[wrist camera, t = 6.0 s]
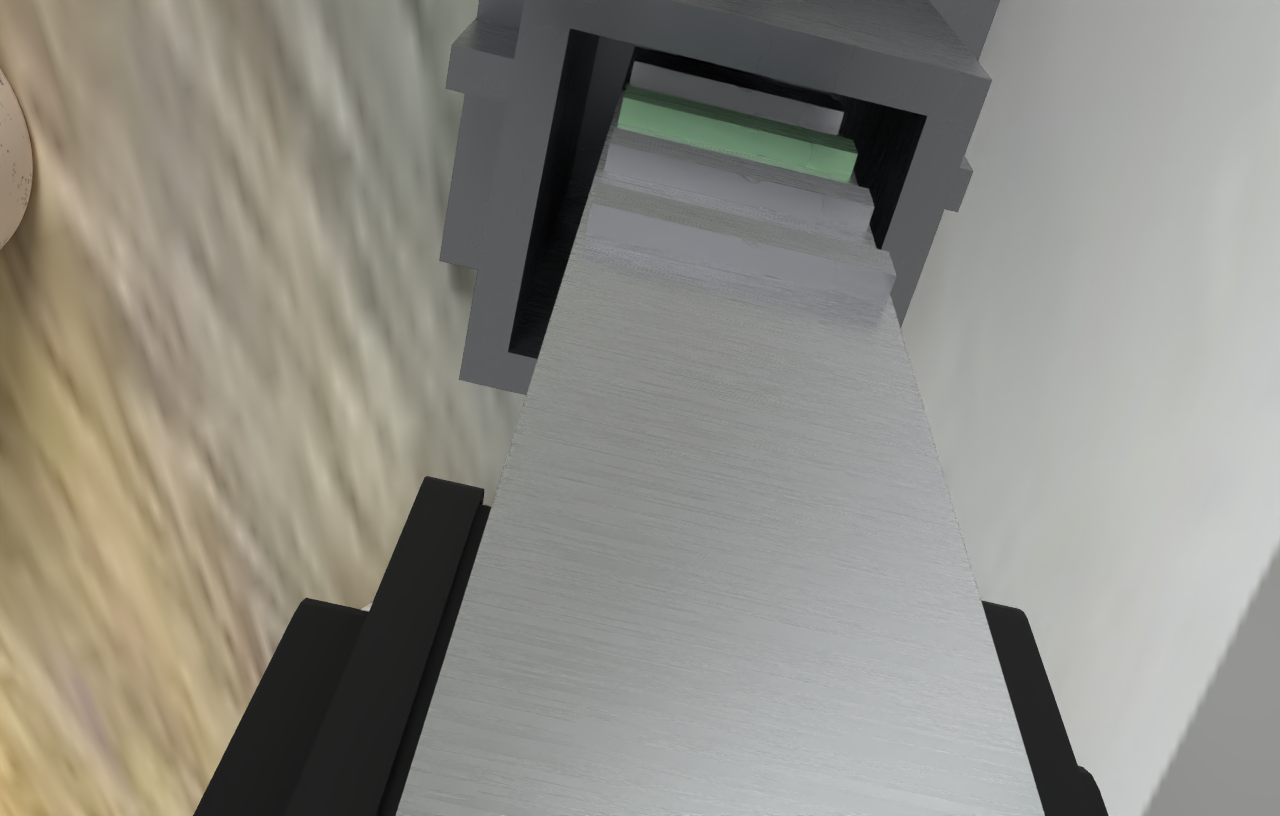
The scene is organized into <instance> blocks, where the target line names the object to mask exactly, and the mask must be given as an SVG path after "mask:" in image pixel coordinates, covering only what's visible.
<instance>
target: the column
mask: <svg viewBox="0 0 1280 816" xmlns="http://www.w3.org/2000/svg"><path fill="white" fill-rule="evenodd" d="M843 115H844V110H843V106H842V103H841V101H840V100H836V99H832V97H831V94H827V93H823V92H819V91H815V90H811V89H807V88H803V87H799V86H795V85H791V84H787V83H783V82H779V81H774V80H770V79H766V78H762V77H758V76H754V75H750V74H746V73H742V72H738V71H734V70H730V69H726V68H721V67H717V66H713V65H709V64H705V63H701V62H697V61H693V60H689V59H685V58H681V57H677V56H673V55H668V54H664V53H660V52H656V51H652V50H648V49H644V48H640V47H636V46H635V48H634V51H633V54H632V58H631V61H630V64H629V67H628V70H627V74H626V77H625V80H624V83H623V87H622V90H621V93H620V96H619V99H618V103H617V106H616V109H615V112H614V115H613V119H612V122H611V125H610V128H609V132H608V135H607V138H606V141H605V144H604V148H603V151H602V154H601V157H600V160H599V164H598V167H597V170H596V173H595V177H594V180H593V183H592V186H591V189H590V193H589V196H588V199H587V202H586V205H585V209H584V212H583V215H582V218H581V222H580V225H579V228H578V231H577V234H576V238H575V241H574V244H573V247H572V250H571V254H570V257H569V260H568V263H567V267H566V270H565V273H564V276H563V279H562V283H561V286H560V289H559V292H558V295H557V299H556V302H555V305H554V308H553V311H552V315H551V318H550V321H549V324H548V328H547V331H546V334H545V337H544V340H543V344H542V347H541V350H540V353H539V356H538V360H537V363H536V366H535V369H534V373H533V376H532V379H531V382H530V385H529V389H528V392H527V395H526V398H525V401H524V405H523V408H522V411H521V414H520V418H519V421H518V424H517V427H516V430H515V434H514V437H513V440H512V443H511V446H510V450H509V453H508V456H507V459H506V463H505V466H504V469H503V472H502V475H501V479H500V482H499V485H498V488H497V491H496V495H495V498H494V501H493V504H492V507H491V511H490V514H489V517H488V520H487V524H486V527H485V530H484V533H483V536H482V540H481V543H480V546H479V549H478V552H477V556H476V559H475V562H474V565H473V569H472V572H471V575H470V578H469V581H468V585H467V588H466V591H465V594H464V597H463V601H462V604H461V607H460V610H459V614H458V617H457V620H456V623H455V626H454V630H453V633H452V636H451V639H450V642H449V646H448V649H447V652H446V655H445V659H444V662H443V665H442V668H441V671H440V675H439V678H438V681H437V684H436V687H435V691H434V694H433V697H432V700H431V704H430V707H429V710H428V713H427V716H426V720H425V723H424V726H423V729H422V732H421V736H420V739H419V742H418V745H417V748H416V752H415V755H414V758H413V761H412V765H411V768H410V771H409V774H408V777H407V781H406V784H405V787H404V790H403V793H402V797H401V800H400V803H399V806H398V810H397V813H396V816H1045V814H1044V811H1043V808H1042V804H1041V801H1040V797H1039V794H1038V791H1037V787H1036V784H1035V781H1034V777H1033V774H1032V771H1031V767H1030V764H1029V760H1028V757H1027V754H1026V750H1025V747H1024V744H1023V740H1022V737H1021V733H1020V730H1019V727H1018V723H1017V720H1016V717H1015V713H1014V710H1013V706H1012V703H1011V700H1010V696H1009V693H1008V690H1007V686H1006V683H1005V680H1004V676H1003V673H1002V669H1001V666H1000V663H999V659H998V656H997V653H996V649H995V646H994V642H993V639H992V636H991V632H990V629H989V626H988V622H987V619H986V616H985V612H984V609H983V605H982V602H981V599H980V595H979V592H978V589H977V585H976V582H975V578H974V575H973V572H972V568H971V565H970V562H969V558H968V555H967V551H966V548H965V545H964V541H963V538H962V535H961V531H960V528H959V525H958V521H957V518H956V514H955V511H954V508H953V504H952V501H951V498H950V494H949V491H948V487H947V484H946V481H945V477H944V474H943V471H942V467H941V464H940V461H939V457H938V454H937V450H936V447H935V444H934V440H933V437H932V434H931V430H930V427H929V423H928V420H927V417H926V413H925V410H924V407H923V403H922V400H921V396H920V393H919V390H918V386H917V383H916V380H915V376H914V373H913V370H912V366H911V363H910V359H909V356H908V353H907V349H906V346H905V343H904V339H903V336H902V332H901V329H900V326H899V322H898V319H897V316H896V312H895V309H894V306H893V302H892V299H891V295H890V292H891V290H892V287H893V284H894V281H895V278H896V272H895V269H894V266H893V263H892V260H891V257H890V254H889V251H885V250H880V249H877V248H876V245H875V242H874V238H873V235H872V231H871V228H870V225H869V222H870V219H871V216H872V213H873V210H874V204H873V200H872V197H871V194H870V191H869V189H868V188H864V187H860V186H858V184H857V181H856V177H855V174H854V171H853V167H854V164H855V161H856V158H857V155H858V153H857V150H856V147H855V144H854V141H853V140H852V139H848V138H844V137H843V134H842V130H841V127H840V125H841V122H842V118H843Z"/></svg>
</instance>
